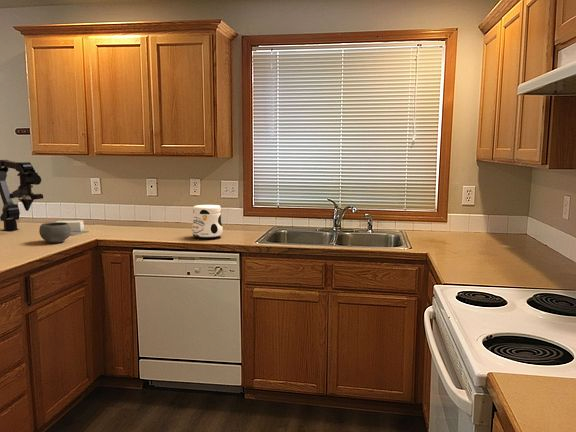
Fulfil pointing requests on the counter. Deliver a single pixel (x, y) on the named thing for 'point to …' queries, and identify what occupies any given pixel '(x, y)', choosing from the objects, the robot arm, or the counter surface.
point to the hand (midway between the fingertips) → (27, 210)
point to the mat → (77, 232)
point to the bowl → (54, 231)
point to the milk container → (207, 221)
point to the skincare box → (75, 225)
